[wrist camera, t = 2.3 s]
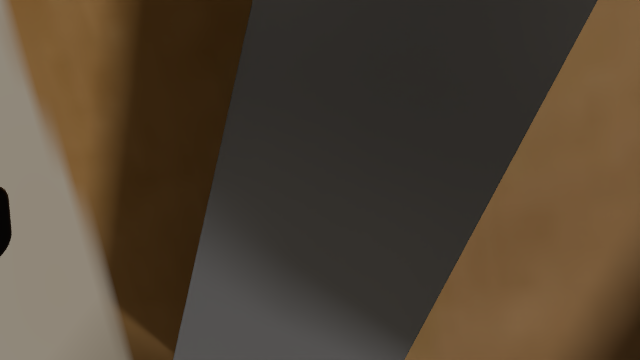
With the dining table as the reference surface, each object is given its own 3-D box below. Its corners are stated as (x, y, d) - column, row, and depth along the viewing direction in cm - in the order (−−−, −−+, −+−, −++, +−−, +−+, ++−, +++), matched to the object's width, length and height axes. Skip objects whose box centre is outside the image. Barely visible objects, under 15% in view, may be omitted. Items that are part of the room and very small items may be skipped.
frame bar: (330, 429, 15) (275, 599, 12) (220, 379, 15) (135, 531, 12) (650, -233, 7) (758, -299, 4) (423, -306, 8) (346, -425, 4)
